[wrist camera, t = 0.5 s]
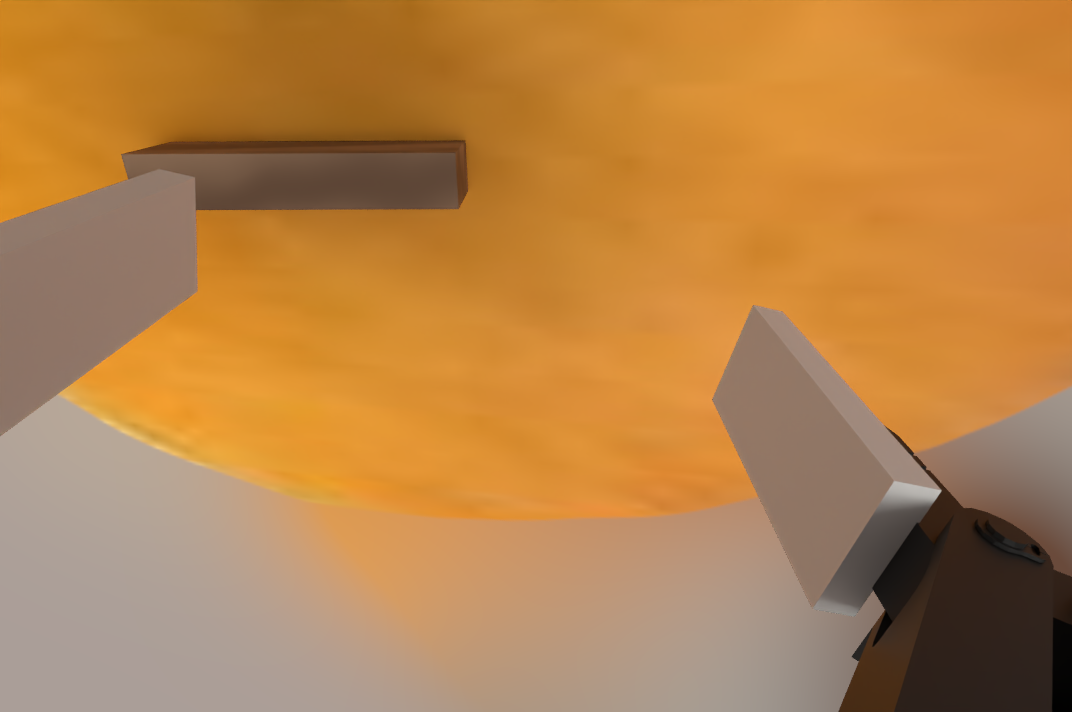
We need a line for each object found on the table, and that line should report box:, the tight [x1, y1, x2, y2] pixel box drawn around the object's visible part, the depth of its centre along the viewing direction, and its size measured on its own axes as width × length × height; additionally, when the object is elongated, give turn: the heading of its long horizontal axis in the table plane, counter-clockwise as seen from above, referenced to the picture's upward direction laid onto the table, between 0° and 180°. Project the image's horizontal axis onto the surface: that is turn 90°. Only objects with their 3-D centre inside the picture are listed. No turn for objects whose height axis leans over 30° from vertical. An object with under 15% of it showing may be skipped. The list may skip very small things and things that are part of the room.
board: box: [121, 141, 468, 210], centre depth 36 cm, size 3×18×5 cm, turn 90°
